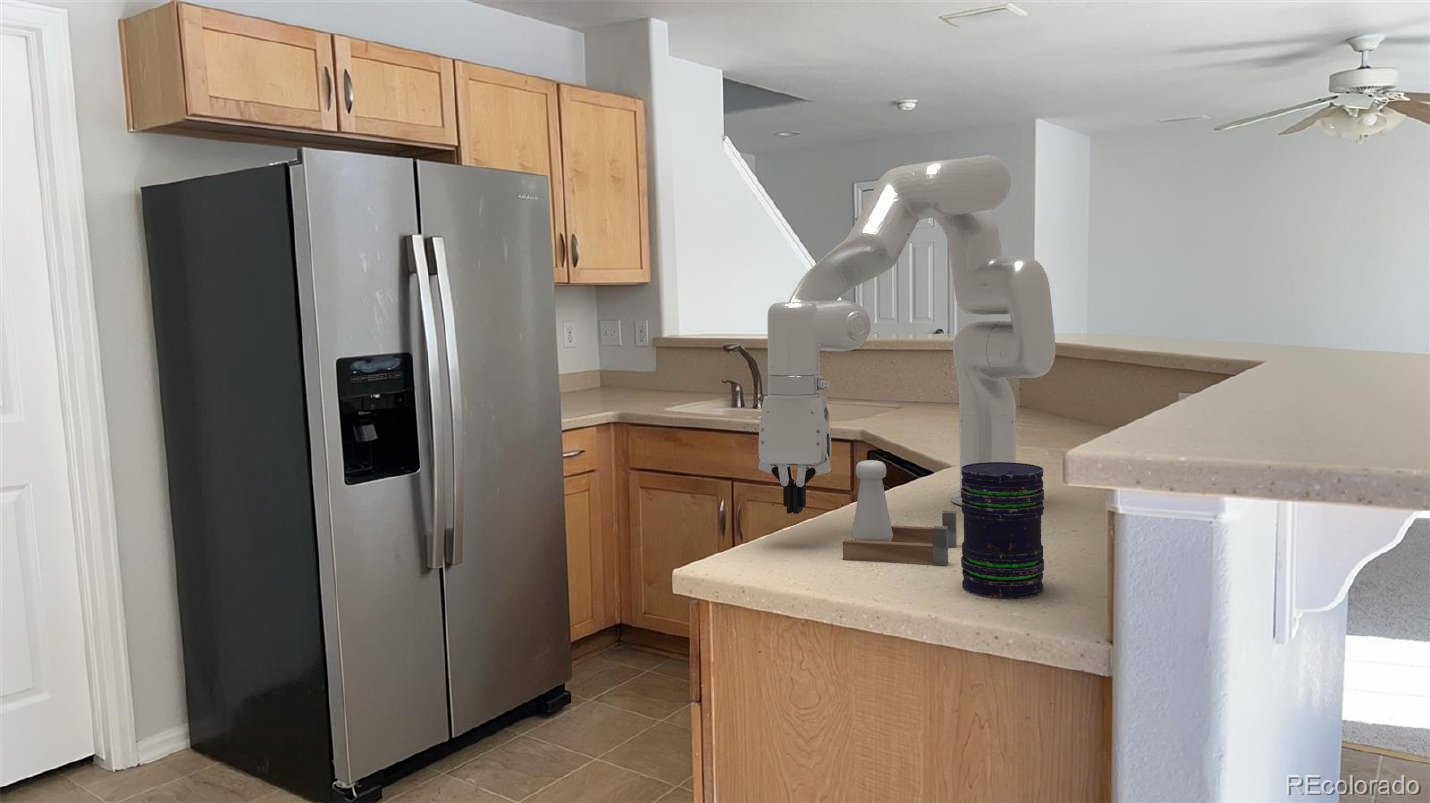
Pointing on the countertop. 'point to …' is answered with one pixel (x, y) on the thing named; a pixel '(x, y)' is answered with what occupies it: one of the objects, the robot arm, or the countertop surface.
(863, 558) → the chute
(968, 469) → the dark blue cylinder
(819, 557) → the countertop surface
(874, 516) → the salt shaker
